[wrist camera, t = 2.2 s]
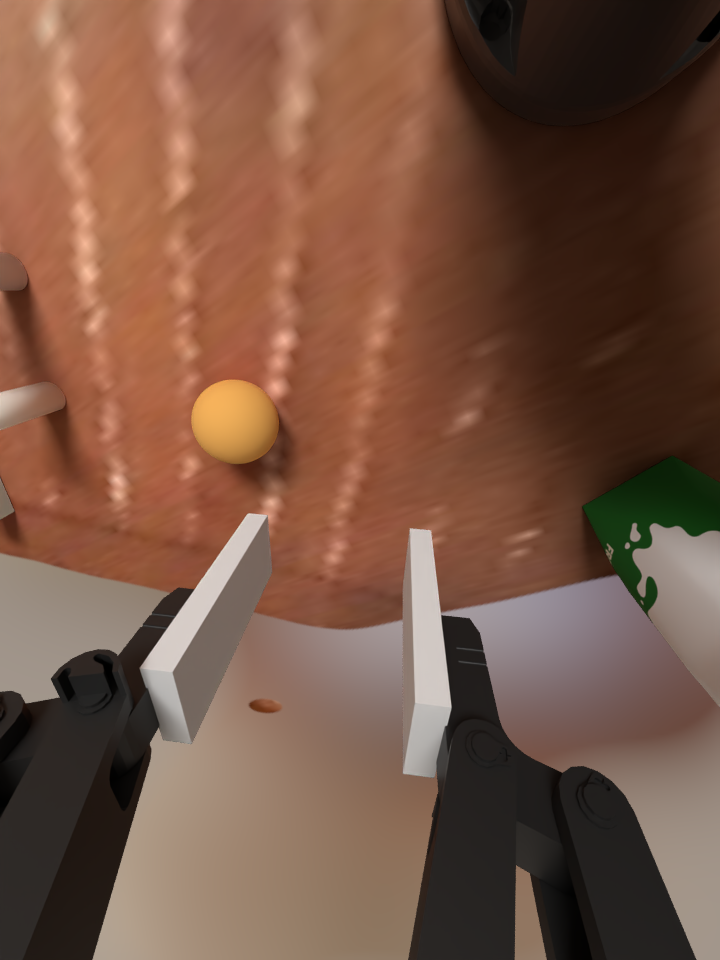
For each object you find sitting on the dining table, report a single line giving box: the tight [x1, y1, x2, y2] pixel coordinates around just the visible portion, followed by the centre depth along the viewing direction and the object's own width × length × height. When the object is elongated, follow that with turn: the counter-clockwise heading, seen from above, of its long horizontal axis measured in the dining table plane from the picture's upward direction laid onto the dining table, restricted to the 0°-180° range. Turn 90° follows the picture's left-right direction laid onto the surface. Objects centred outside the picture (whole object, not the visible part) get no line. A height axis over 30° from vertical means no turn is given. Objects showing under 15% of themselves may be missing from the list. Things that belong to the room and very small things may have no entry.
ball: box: [191, 380, 279, 464], centre depth 27 cm, size 6×6×6 cm
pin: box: [0, 381, 66, 430], centre depth 27 cm, size 2×2×8 cm
